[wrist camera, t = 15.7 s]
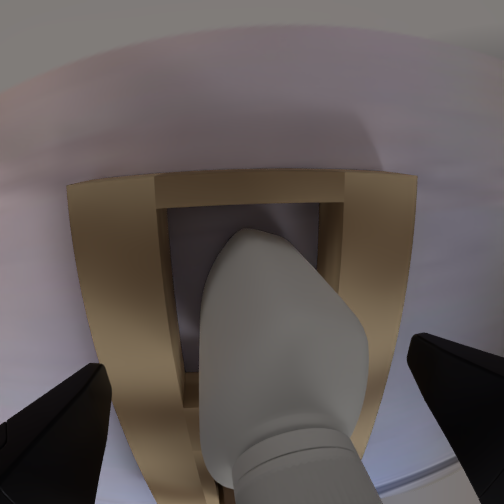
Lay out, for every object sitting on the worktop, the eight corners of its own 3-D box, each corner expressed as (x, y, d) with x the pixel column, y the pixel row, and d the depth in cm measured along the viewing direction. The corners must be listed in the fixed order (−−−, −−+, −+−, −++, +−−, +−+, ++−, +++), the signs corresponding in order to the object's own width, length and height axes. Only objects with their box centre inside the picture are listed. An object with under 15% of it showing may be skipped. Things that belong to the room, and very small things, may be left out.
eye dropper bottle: (325, 280, 14) (521, 512, 2) (233, 362, 14) (283, 627, 3) (257, 208, 12) (509, 496, 1) (160, 303, 13) (103, 616, 2)
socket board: (335, 471, 18) (346, 497, 16) (166, 489, 17) (164, 517, 15) (384, 171, 13) (417, 176, 10) (92, 179, 11) (66, 185, 9)
